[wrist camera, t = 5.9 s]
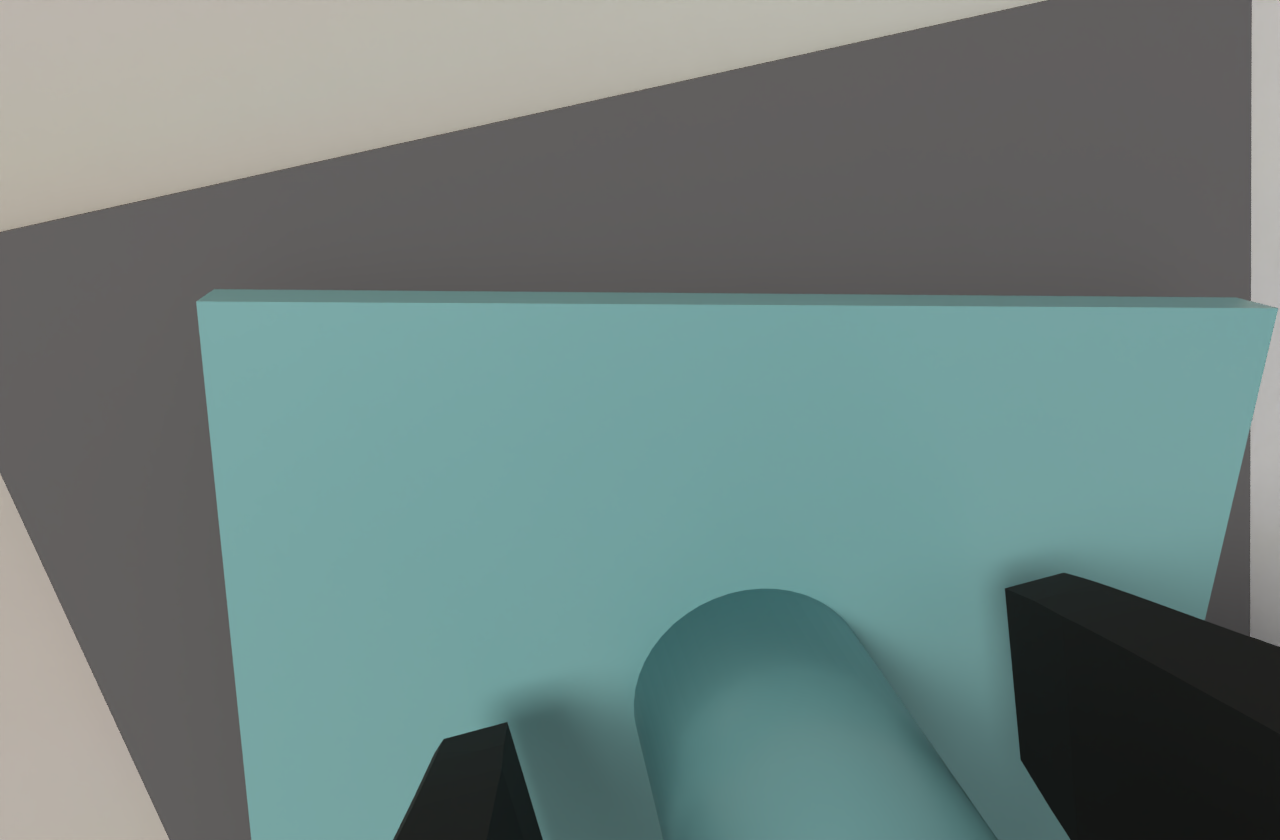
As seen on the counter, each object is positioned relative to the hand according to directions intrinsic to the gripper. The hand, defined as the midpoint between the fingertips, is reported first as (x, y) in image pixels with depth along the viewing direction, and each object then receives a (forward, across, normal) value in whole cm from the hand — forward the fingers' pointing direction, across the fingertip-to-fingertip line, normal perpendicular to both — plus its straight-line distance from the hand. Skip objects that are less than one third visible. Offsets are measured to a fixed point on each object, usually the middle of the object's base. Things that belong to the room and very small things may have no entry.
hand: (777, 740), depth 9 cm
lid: (+2, 0, 0) cm, 2 cm away
